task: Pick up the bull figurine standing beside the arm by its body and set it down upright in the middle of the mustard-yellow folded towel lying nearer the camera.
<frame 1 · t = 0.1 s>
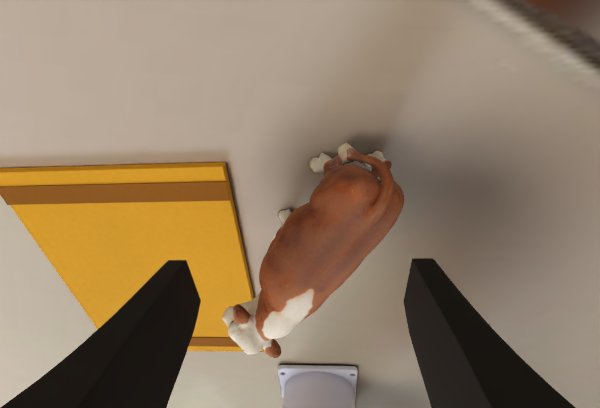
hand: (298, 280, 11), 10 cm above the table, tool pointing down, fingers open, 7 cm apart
towel: (156, 275, 26), on the table
bull figurine: (309, 203, 21), on the table
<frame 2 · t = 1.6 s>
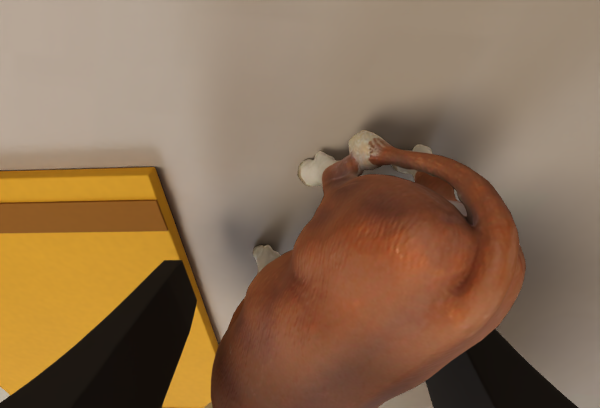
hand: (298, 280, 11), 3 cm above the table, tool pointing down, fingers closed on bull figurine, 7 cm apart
towel: (79, 331, 18), on the table
bull figurine: (302, 233, 13), on the table, touching gripper
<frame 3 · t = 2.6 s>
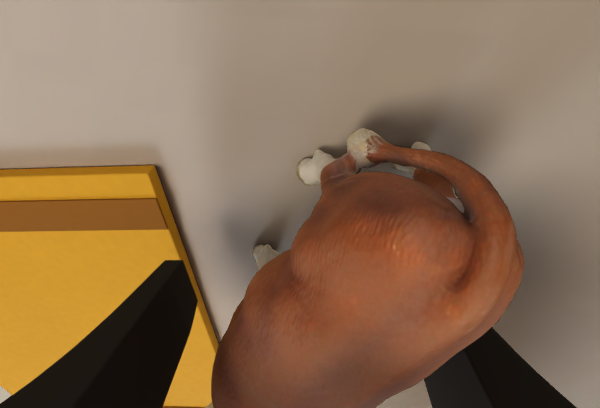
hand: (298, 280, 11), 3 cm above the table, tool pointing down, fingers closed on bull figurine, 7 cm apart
towel: (79, 329, 18), on the table
bull figurine: (301, 232, 13), on the table, touching gripper
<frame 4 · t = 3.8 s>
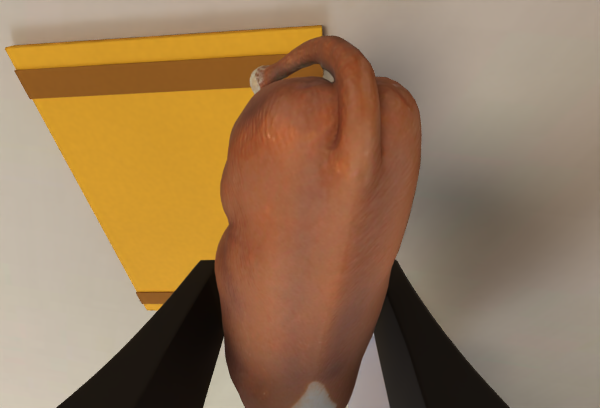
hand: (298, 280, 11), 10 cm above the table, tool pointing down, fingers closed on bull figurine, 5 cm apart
towel: (209, 207, 21), on the table
bull figurine: (274, 206, 13), point 6 cm above the table, touching gripper
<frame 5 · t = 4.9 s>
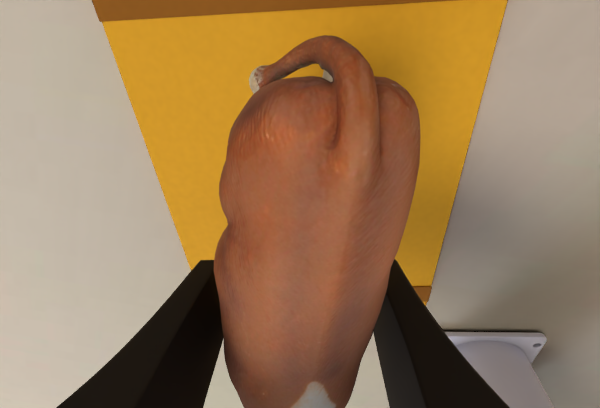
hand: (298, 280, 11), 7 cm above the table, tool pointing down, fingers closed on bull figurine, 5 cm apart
towel: (305, 179, 17), on the table
bull figurine: (273, 206, 13), point 4 cm above the table, touching gripper
when the fingers open (4 cm above the table, at t = 6.0 s): bull figurine stays where it is, resting on towel.
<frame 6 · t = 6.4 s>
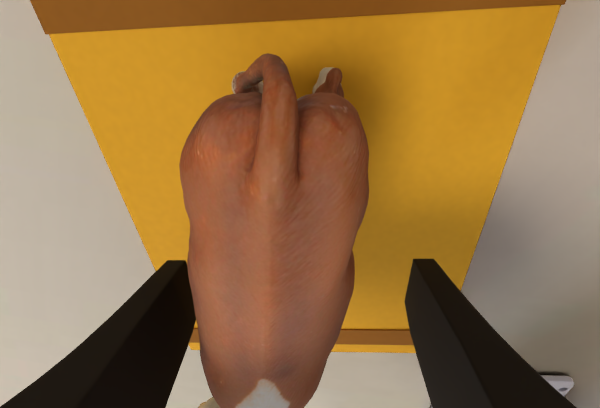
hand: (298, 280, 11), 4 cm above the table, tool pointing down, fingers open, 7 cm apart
towel: (304, 214, 14), on the table
bull figurine: (274, 201, 13), resting on towel, touching gripper
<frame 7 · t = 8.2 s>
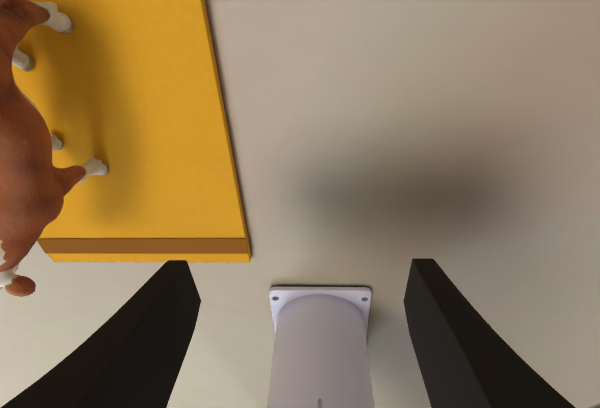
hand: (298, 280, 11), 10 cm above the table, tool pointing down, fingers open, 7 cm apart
towel: (99, 131, 19), on the table
bull figurine: (67, 116, 18), resting on towel
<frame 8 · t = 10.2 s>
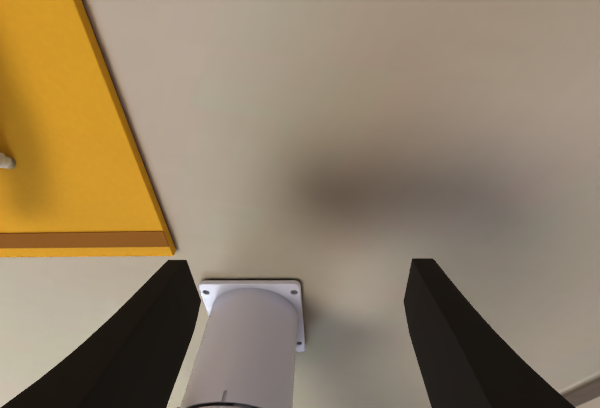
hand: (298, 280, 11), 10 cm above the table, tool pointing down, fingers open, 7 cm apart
towel: (2, 124, 19), on the table
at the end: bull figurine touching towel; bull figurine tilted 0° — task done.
